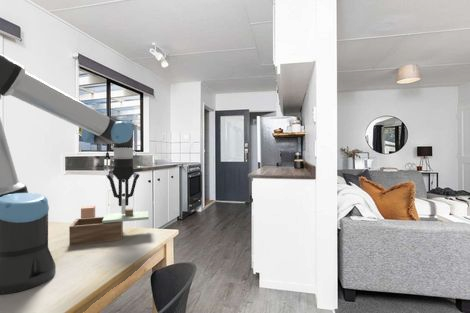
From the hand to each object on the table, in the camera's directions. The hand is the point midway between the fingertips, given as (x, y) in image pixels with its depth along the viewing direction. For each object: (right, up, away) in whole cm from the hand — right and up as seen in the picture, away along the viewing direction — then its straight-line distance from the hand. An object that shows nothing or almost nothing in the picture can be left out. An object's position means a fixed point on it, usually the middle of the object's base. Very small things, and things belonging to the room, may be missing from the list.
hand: (123, 213), depth 109 cm
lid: (+1, -2, 0) cm, 2 cm away
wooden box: (-9, -9, -3) cm, 13 cm away
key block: (-20, -9, +8) cm, 23 cm away
